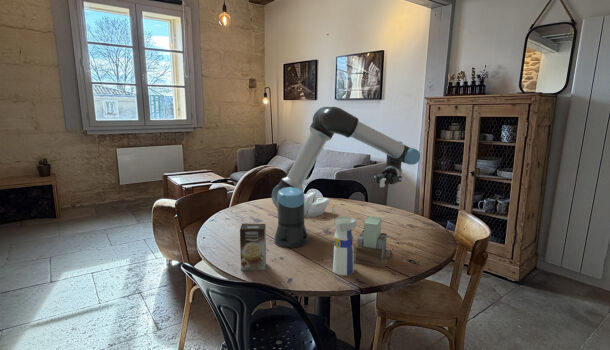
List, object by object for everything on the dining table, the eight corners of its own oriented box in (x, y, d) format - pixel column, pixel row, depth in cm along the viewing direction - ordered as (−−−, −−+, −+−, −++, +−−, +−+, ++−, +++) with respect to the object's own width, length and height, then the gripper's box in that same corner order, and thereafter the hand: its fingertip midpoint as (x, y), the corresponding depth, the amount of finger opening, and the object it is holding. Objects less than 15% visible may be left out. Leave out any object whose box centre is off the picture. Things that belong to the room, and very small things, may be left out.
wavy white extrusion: (265, 211, 194) (265, 194, 192) (279, 204, 209) (279, 188, 207) (321, 219, 180) (322, 200, 178) (332, 211, 194) (332, 194, 192)
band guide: (360, 247, 143) (360, 227, 141) (391, 252, 138) (392, 231, 136) (351, 261, 129) (351, 239, 128) (385, 267, 124) (386, 244, 123)
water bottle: (343, 278, 116) (344, 209, 112) (327, 269, 123) (328, 203, 119) (359, 271, 121) (361, 205, 117) (343, 263, 128) (345, 200, 123)
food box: (240, 271, 122) (238, 229, 119) (242, 263, 128) (241, 223, 125) (265, 270, 123) (264, 228, 119) (266, 262, 129) (265, 222, 126)
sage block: (367, 248, 138) (369, 216, 135) (380, 250, 136) (381, 217, 134) (362, 257, 130) (364, 222, 127) (375, 259, 128) (377, 224, 125)
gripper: (403, 183, 161) (396, 194, 139) (376, 181, 166) (365, 191, 144) (404, 168, 159) (398, 176, 138) (377, 166, 164) (366, 173, 143)
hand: (381, 184), depth 141 cm, fingers closed
